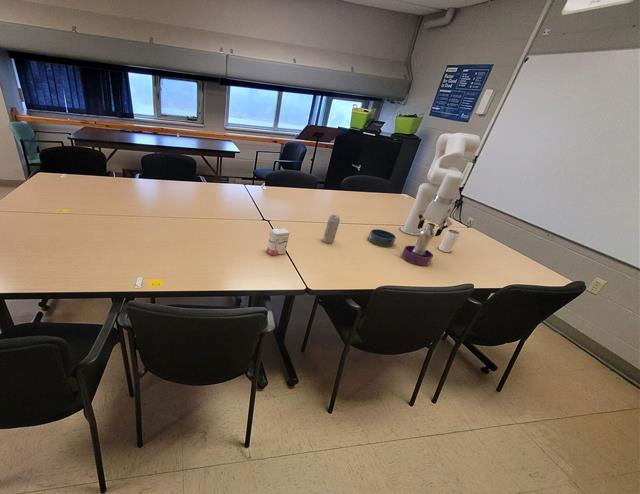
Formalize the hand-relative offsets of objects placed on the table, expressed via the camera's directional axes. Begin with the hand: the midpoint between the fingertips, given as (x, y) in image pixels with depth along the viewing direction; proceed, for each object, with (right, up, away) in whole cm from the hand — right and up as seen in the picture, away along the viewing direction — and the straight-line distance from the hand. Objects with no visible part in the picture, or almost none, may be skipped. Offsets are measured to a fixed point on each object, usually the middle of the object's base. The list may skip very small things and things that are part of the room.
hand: (427, 232), depth 163 cm
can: (+25, -7, +25) cm, 36 cm away
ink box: (-79, -11, -4) cm, 80 cm away
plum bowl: (-2, -14, +8) cm, 16 cm away
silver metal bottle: (-2, -13, +8) cm, 16 cm away
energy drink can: (-48, -3, +15) cm, 50 cm away
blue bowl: (-14, -2, +24) cm, 28 cm away
